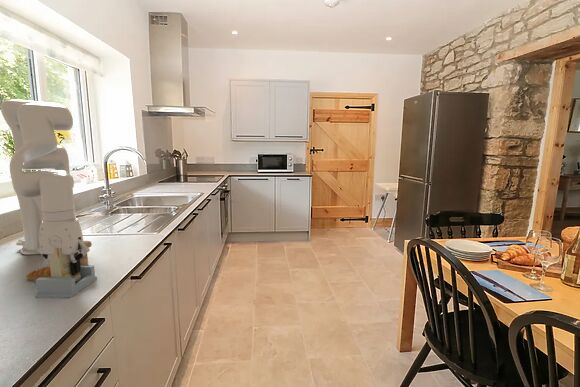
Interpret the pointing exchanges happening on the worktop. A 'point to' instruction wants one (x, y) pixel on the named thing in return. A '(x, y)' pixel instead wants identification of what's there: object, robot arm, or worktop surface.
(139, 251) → the worktop surface
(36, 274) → the pastry
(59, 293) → the grey rectangular frame
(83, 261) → the wooden mushroom
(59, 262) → the skincare box
